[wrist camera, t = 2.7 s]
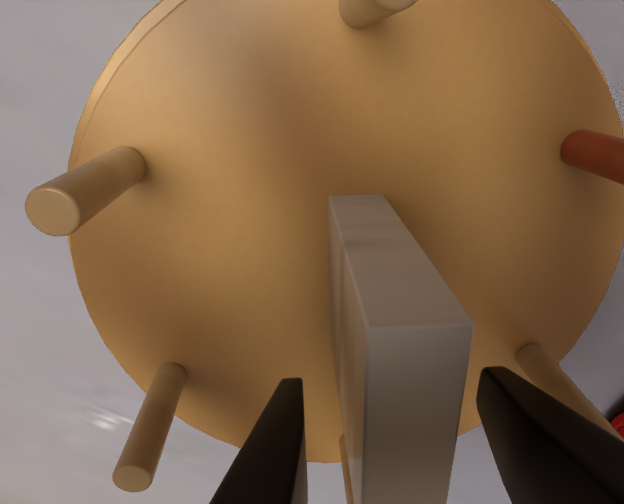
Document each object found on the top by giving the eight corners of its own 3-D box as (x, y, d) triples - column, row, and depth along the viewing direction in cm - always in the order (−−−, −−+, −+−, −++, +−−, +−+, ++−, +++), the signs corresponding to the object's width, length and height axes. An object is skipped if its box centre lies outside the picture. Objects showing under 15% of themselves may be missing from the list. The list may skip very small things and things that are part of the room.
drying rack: (277, 505, 18) (271, 752, 12) (-53, 184, 12) (-468, 332, 5) (667, 325, 15) (950, 522, 9) (504, -235, 9) (1098, -1051, 2)
